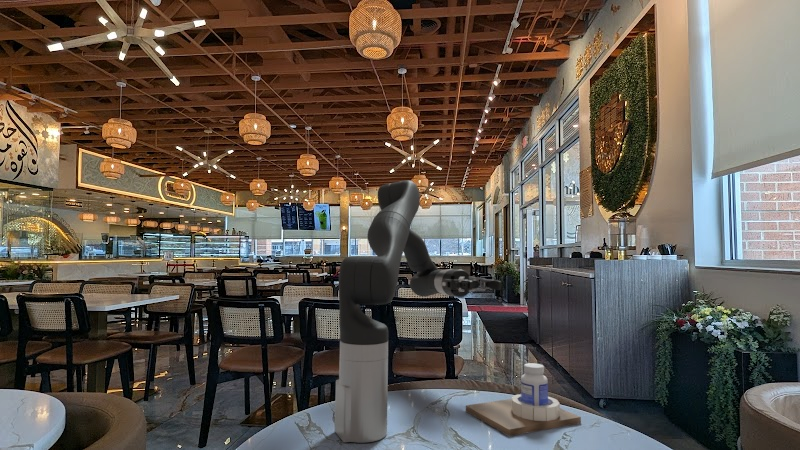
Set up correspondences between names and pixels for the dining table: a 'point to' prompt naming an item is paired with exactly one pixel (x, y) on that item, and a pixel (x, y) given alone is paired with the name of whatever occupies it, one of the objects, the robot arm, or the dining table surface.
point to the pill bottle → (534, 385)
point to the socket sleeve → (535, 409)
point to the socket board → (516, 418)
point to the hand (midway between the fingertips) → (485, 285)
